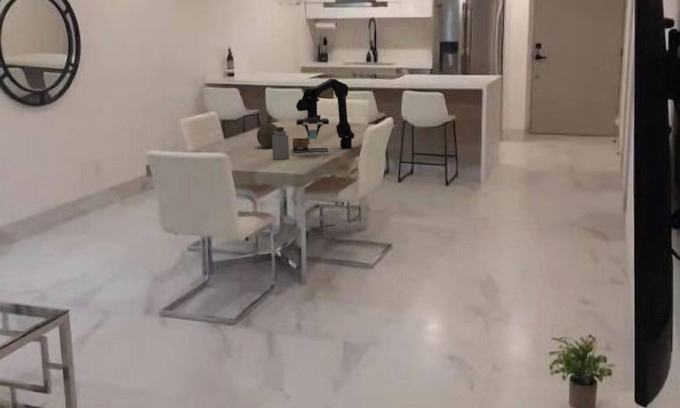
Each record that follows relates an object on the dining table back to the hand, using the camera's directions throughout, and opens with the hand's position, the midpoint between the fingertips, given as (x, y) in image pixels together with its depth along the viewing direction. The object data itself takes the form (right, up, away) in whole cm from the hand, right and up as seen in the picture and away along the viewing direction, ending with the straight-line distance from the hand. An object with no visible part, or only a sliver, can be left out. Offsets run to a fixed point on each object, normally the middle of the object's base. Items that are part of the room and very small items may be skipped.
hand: (312, 136), depth 440 cm
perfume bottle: (-18, -14, -7) cm, 24 cm away
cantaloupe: (-29, -5, +29) cm, 41 cm away
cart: (-8, -6, +14) cm, 17 cm away
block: (0, -1, 0) cm, 1 cm away
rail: (-2, -8, +15) cm, 17 cm away
